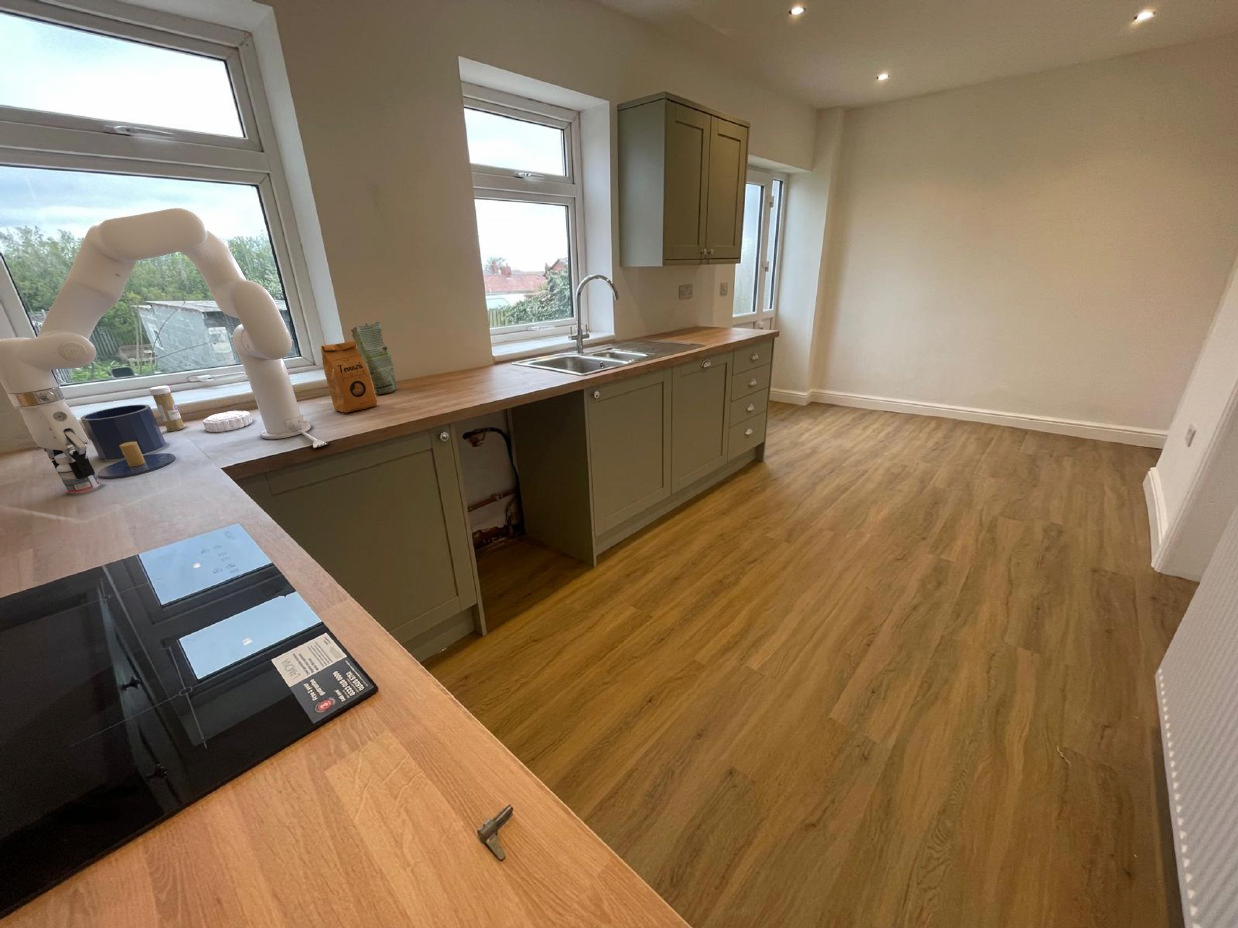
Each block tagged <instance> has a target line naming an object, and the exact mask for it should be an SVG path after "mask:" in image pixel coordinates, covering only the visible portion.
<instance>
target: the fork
mask: <svg viewBox="0 0 1238 928" xmlns="http://www.w3.org/2000/svg"><path fill="white" fill-rule="evenodd" d="M301 434H302V435H303V436H304V437H306V438H307V439H309V440H310V441H311V442H312V448H313V449H316V448H320V447H323V446H326V445H329V441H327V442H325V441H323V440H320V439H317V438H316V437H314V436H313V435H310V434H309V433H307V431H306V432H304V431H302V432H301Z"/></svg>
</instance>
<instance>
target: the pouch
mask: <svg viewBox="0 0 1238 928" xmlns="http://www.w3.org/2000/svg"><path fill="white" fill-rule="evenodd" d="M350 331H351V333H352V335H351V336H352V338H353V341H354V340H355V342H356V348H357V349H358V351H359V353H360V355H361V357H362V359H363V361H364V362H365V365H366V367H367V368H368V371H369V374H370V376H371V380H372V383H373V386H374V391H375V395H383V394H389V393H392V392H395V391H396V390H398V384H397V380H396V373H395V369H394V363H393V359H392V356H391V354H390V353H389V350H388V347H387V346H386V345H385V342H384V337H383V334H382V331H383V329H382V327H381V322H380V321H376V322H375V323H371V324H370V325H369V324H368V323H367V322H366V323H365V324H364V325H359V326H358V325H357V326H355V327H353V328H352V329H350Z"/></svg>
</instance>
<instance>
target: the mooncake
mask: <svg viewBox="0 0 1238 928" xmlns="http://www.w3.org/2000/svg"><path fill="white" fill-rule="evenodd" d="M252 423H253V419H252V415H251V413H250V412H249V411H246V410H229V411H224V412H220V413H215V414H211V415H209V416H208V417H206V418H204V419H203V420H202V424H203V426H204V429H205V431H206V432H209V433H223V432H228V431H234V430H238V429H242V428H244V427H247V426H249V425H250V424H252Z"/></svg>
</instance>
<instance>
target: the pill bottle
mask: <svg viewBox="0 0 1238 928" xmlns="http://www.w3.org/2000/svg"><path fill="white" fill-rule="evenodd" d="M73 451H74V450H71V451H70V453H71V454H73ZM54 458H55V460H56V462H57V463H58V464H60V465H59V466H58V467H57V468H56V469H55V470H56V472H57V474H58V476H59V477H60V480H61V482H62V483H63V485H64V487H65V488H66V490H67V492H68V493H70V494H77V493H82V492H87V491H90V490H93V489H95V488H97V487H99V486H101V482H100V481H99V478H98V477H97V475H96V473H95V474H94V475H91V476H88V477H85V478H82V479H76V477H75V475H74V473H73V471H72V469H71V468H70V466H69V464H68V463H70V461H69V460H68V458H67V457H66V455H65V454H64V453H63V454H59V455H57V456H55V457H54Z"/></svg>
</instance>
